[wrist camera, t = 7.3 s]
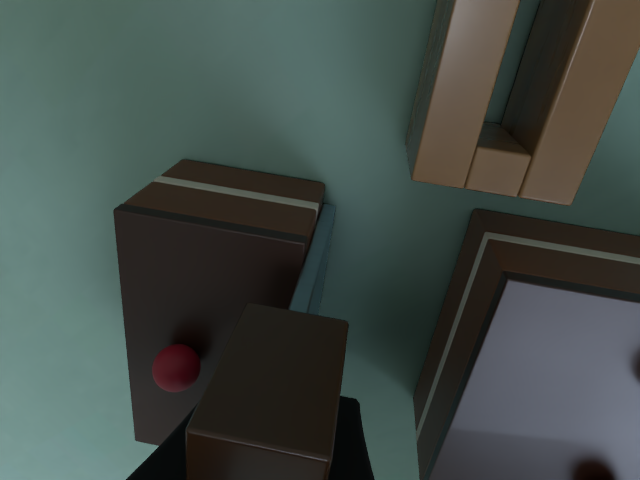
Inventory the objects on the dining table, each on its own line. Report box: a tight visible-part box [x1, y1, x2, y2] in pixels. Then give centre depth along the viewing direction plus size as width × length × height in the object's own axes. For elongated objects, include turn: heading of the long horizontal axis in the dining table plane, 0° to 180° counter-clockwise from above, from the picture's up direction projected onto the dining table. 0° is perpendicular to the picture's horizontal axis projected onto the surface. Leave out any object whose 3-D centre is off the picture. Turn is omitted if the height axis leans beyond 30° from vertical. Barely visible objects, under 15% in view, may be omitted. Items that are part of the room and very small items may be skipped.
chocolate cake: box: [413, 209, 640, 480], centre depth 13 cm, size 6×8×5 cm
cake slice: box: [114, 159, 325, 446], centre depth 13 cm, size 4×8×5 cm, turn 172°
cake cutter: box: [186, 204, 349, 480], centre depth 11 cm, size 2×7×8 cm, turn 173°
